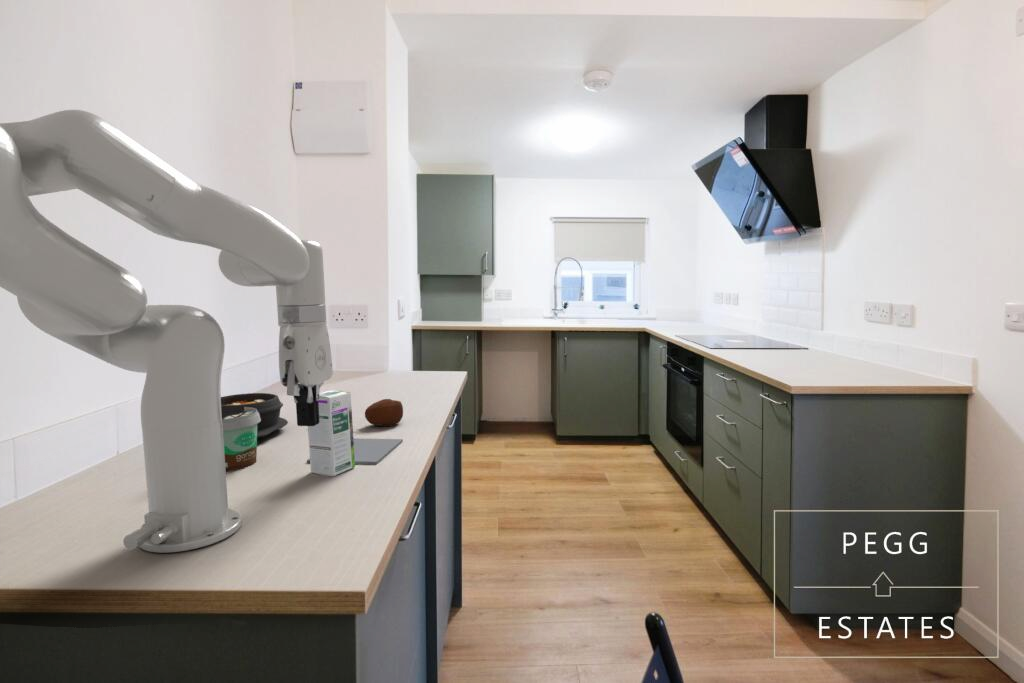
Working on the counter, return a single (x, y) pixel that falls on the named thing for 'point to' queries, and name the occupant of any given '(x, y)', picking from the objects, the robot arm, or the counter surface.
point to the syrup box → (332, 435)
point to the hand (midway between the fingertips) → (308, 424)
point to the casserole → (265, 406)
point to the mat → (372, 449)
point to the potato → (384, 412)
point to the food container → (240, 438)
